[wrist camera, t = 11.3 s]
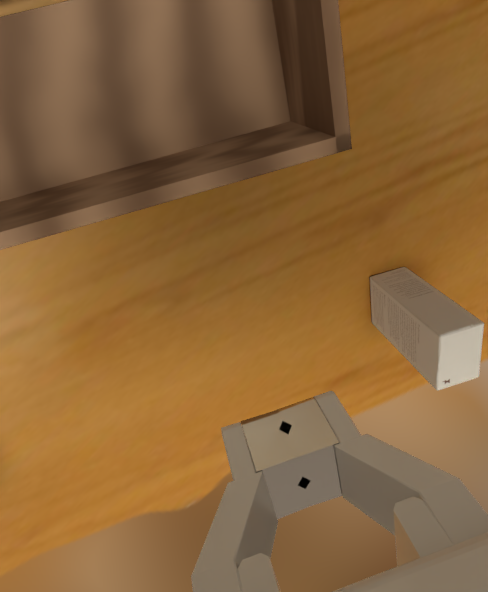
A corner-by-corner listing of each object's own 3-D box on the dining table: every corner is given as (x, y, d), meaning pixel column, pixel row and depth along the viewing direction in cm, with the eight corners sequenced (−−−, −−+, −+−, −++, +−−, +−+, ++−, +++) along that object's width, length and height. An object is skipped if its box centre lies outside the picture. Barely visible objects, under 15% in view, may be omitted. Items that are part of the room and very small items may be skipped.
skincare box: (406, 312, 49) (480, 379, 38) (370, 322, 48) (435, 393, 38) (406, 263, 46) (486, 322, 35) (368, 274, 45) (438, 337, 35)
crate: (274, -47, 31) (329, -90, 22) (299, 128, 37) (351, 148, 28) (-104, 44, 29) (-205, 35, 20) (-11, 216, 35) (-57, 266, 26)
